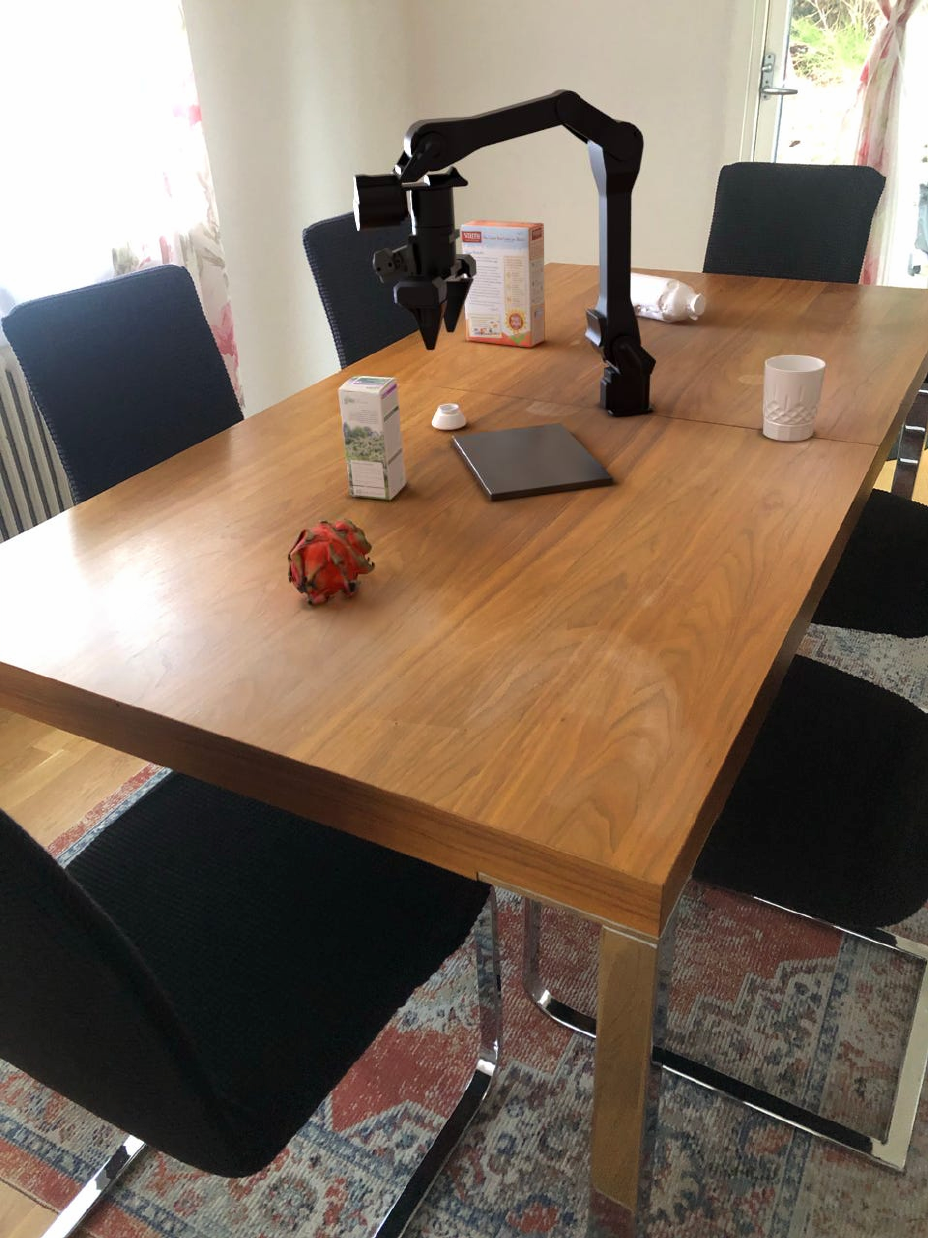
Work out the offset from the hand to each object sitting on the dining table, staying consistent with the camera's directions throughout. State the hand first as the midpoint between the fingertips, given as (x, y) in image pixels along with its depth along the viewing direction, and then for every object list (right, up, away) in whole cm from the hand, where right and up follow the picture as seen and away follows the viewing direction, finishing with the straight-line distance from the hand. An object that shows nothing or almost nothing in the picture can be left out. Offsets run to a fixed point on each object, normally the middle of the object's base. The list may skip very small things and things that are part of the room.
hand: (440, 340), depth 146 cm
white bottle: (+41, +19, +56) cm, 72 cm away
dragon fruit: (-11, -37, -36) cm, 53 cm away
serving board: (+12, -18, -6) cm, 23 cm away
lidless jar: (+1, -11, +8) cm, 13 cm away
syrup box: (-8, -23, -12) cm, 27 cm away
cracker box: (+11, +12, +47) cm, 50 cm away
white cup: (+48, -14, -2) cm, 50 cm away
